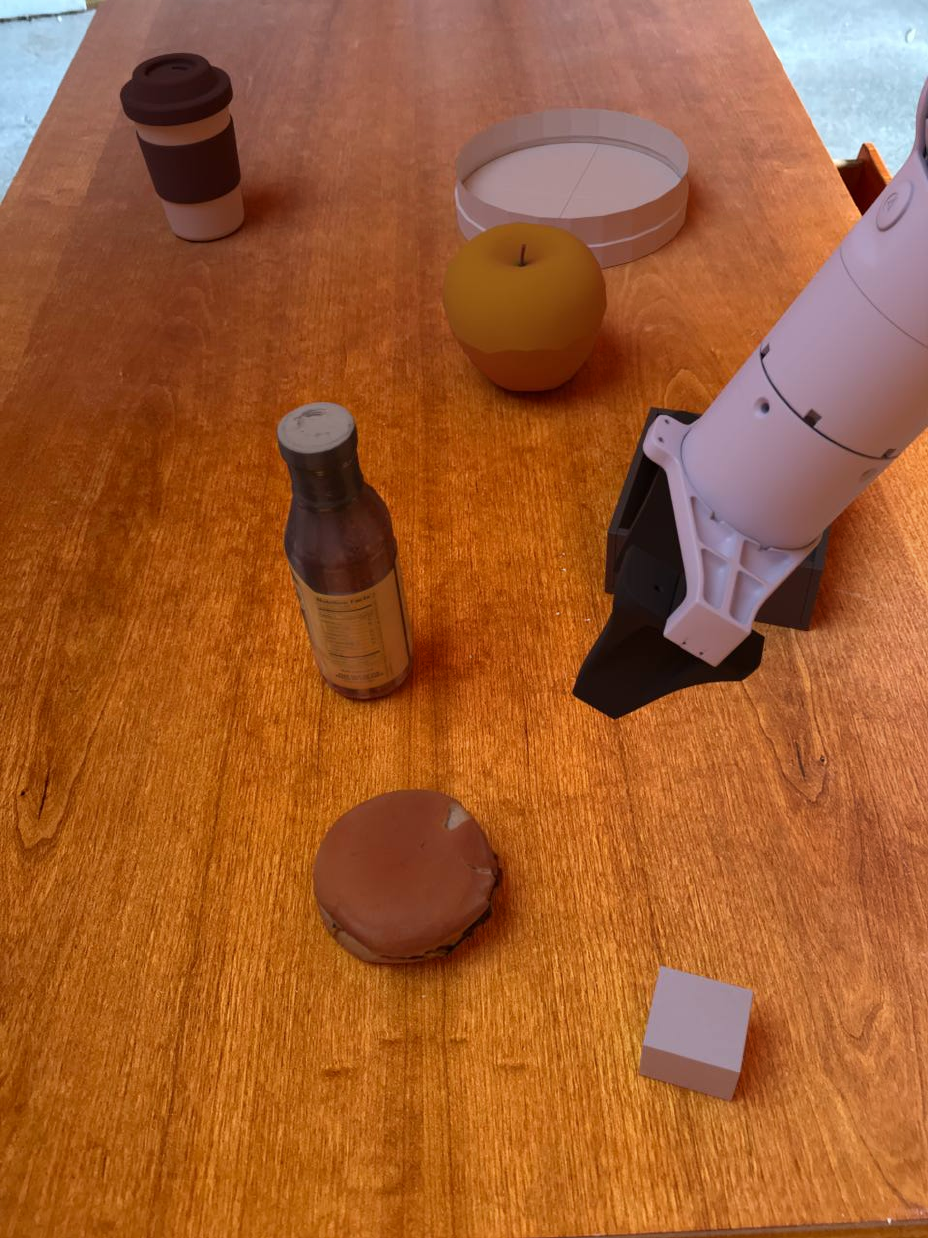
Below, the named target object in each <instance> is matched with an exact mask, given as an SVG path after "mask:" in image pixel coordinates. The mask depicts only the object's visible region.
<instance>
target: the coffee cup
mask: <svg viewBox="0 0 928 1238" xmlns="http://www.w3.org/2000/svg"><path fill="white" fill-rule="evenodd" d="M232 85H233V84H232V80H231V77H230V75H229V74H228V72H226V71H225V70H223V69H222V68H220V67H218V66H215V65H212V64H211V63H210V62H209V60H208V59H207V58H206V57H204V56H202V55H200V54H198V53H197V54H196V53H191V52H171V53H165V54H161V55H157V56H154V57H150V58H148V59H145V60H144V61H142V62H140V63H139V64H138V65H137V66H136V67H135V68H134V69H133V71H132V74H131V79H129V80H128V81H127V82H125V83H124V85H123V86H122V87H121V88H120V91H119V100H120V103H121V107H122V111H123V113H124V114H125V116H126V117H127V118H128V119H129V120H131V121H133V122H134V126H135V128H136V130H135V136H136V139H137V141H138V145H139V148H140V150H141V154H142V156H143V160H144V162H145V164H146V169H147V170H148V173H149V176H150V179H151V182H152V185H153V187H154V191H155V193H156V195H157V196H159V199H160V202H161V204H162V207H163V210H164V213H165V215H166V217H167V222H168V224H169V227H170V229H171V231H172V232H173V234H174V235H175V236H177V237H179V238H181V239H183V240H187V241H192V242H208V241H214V240H218V239H221V238H224V237H226V236H228V235H231V234H233V233H234V232H235V231H237V230H238V229H239V228H240V227H241V226H242V224H243V222H244V219H245V210H244V204H243V203H244V201H243V198H242V197H243V195H242V189H241V179H242V175H241V174H242V172H241V167H240V166H241V165H240V159H239V153H238V152H239V151H238V145H237V139H236V138H237V137H236V131H235V123H234V119H233V115H232V114H231V113H230V107H229V105H230V103H231V102H232V100H233V98H234V91H233V87H232Z"/></svg>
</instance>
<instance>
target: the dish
mask: <svg viewBox="0 0 928 1238" xmlns="http://www.w3.org/2000/svg"><path fill="white" fill-rule="evenodd" d="M689 162H690V155H689V151H688V149H687V148H686V146H685V143H684V142H683V140H681V139H680V138H679V137H678V136H677V135H676V134H675V133H674V132H673V131H672V130H671V129H669V128H667V127H665V126H664V125H661V124H660V123H658V122H655V121H653V120H651V119H648V118H646V117H641V116H638V115H636V114H632V113H630V112H629V113H628V112H624V111H617V110H610V109H605V108H604V109H603V108H584V107H583V108H582V107H580V108H579V107H567V108H556V109H544V110H539V111H534V112H530V113H525V114H519V115H516V116H513V117H510V118H507V119H505V120H502V121H499V122H496V123H493V124H492V125H490V126H487V127H486V128H484V129H483V130H481V131H479V132H477V133H475V134H473V136H472V137H471V138H469V140H467V142H466V143H464V144H463V145H462V147H461V148H460V149H459V152H458V153H457V156H456V160H455V161H454V167H455V178H456V179H455V181H456V186H455V188H454V199H455V210H456V219H457V220H456V221H457V228H458V229H459V231H460V232H461V233H462V235H463V237H464V238H465V240H466V241H467V242H468V241H470V240H471V239H473V238H474V237H475V236H477V235H478V234H480V233H482V232H484V231H486V230H488V229H490V228H492V227H494V226H498V225H504V224H510V223H516V222H522V223H530V224H538V225H547V226H553V227H556V228H559V229H563V230H566V231H569V232H570V233H571V234H573V235H574V236H576V237H577V238H579V239H580V240H581V241H582V242H584V243H585V244H586V245H587V246H588V247H589V248H590V249H591V251H592V252H593V254H594V256H595V257H596V259H597V261H598V262H599V264H600V267H601V270H602V269H607V268H610V267H614V266H619V265H623V264H627V263H631V262H633V261H636V260H638V259H641V258H643V257H645V256H647V255H650V254H652V253H654V252H657V251H658V250H659V249H660V248H662V247H663V246H664V245H666V244H668V243H669V242H670V241H672V240H673V239H674V238H675V237H676V236H677V234H678V233H679V231H680V230H681V228H682V227H683V226H684V224H685V221H686V215H687V214H686V213H687V204H688V197H689V191H690V185H689V182H688V179H687V178H688V172H689V171H688V170H689V164H690V163H689Z"/></svg>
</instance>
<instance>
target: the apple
mask: <svg viewBox="0 0 928 1238" xmlns="http://www.w3.org/2000/svg"><path fill="white" fill-rule="evenodd" d="M440 291H441V301H442V307H443V310H444V313H445V316H446V319H447V322H448V325H449V328H450V330H451V332H452V334H453V336H454V338H455V340H456V342H457V343H458V345H459V347H460V348H461V349H462V351H463V353H464V354H465V355H466V357H467V358H468V359H469V360H470V362H472V363H473V364H474V365H475V367H476V368H477V369H478V371H480V373H481V374H482V375H484V376H485V377H486V378H488V379H489V380H490V381H491V382H493V383H494V384H496V385H497V386H498V387H502V388H503V389H505V390H508V391H511V392H542V391H549V390H550V391H551V390H556V389H557V388H559V387H560V386H562V385H564V384H565V383H567V382H568V381H570V380H572V378H573V377H574V376H575V375H576V373H577V372H579V370H580V369H581V367H582V366H583V365H584V364H585V362H586V361H587V360H588V359H589V357H590V356H591V353H592V351H593V349H594V347H595V345H596V342H597V340H598V337H599V335H600V331H601V328H602V324H603V320H604V317H605V314H606V311H607V308H608V301H607V284H606V280H605V277H604V273H603V271H602V269H601V267H600V264H599V262H598V261H597V259H596V257H595V256H594V254H593V252H592V251H591V249H590V248H589V247H588V246H587V245H586V244H585V243H584V242H582V241H581V240H580V239H579V238H577V237H576V236H574V235H573V234H571V233H570V232H569V231H566V230H563V229H559V228H556V227H553V226H547V225H538V224H530V223H522V222H516V223H510V224H504V225H498V226H494V227H492V228H490V229H488V230H486V231H484V232H482V233H480V234H478V235H477V236H475V237H474V238H473V239H471V240H470V241H467V242H465V243H463V245H462V246H461V247H460V248H459V249H458V250H457V252H455V254H454V255H453V256H452V258H451V259H450V260H449V262H448V264H447V267H446V270H445V274H444V277H443V283H442V286H441V290H440Z"/></svg>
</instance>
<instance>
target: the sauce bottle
mask: <svg viewBox="0 0 928 1238" xmlns="http://www.w3.org/2000/svg"><path fill="white" fill-rule="evenodd" d="M276 438H277V445H278V449H279V453H280V456H281V458H282V459H283V461H284V462H285V464H286V466H287V470H288V474H289V478H290V482H291V484H290V488H291V494H292V497H291V502H290V506H289V511H288V515H287V519H286V525H285V529H284V534H283V549H284V552H285V556H286V560H287V563H288V567H289V570H290V574H291V579H292V582H293V585H294V589H295V592H296V597H297V599H298V604H299V609H300V612H301V614H302V618H303V621H304V625H305V629H306V634H307V635H308V636H307V637H308V640H309V643H310V647H311V651H312V654H313V659H314V662H315V665H316V668H317V669H318V671H319V672H320V676H321V679H324V681H325V683H327V684H328V686H329V687H330V688H331V689H332V690H334V691H335V692H337V693H339V694H340V695H341V696H344V697H346V698H350V699H354V700H355V699H356V700H368V699H376V698H380V697H385V696H388V695H390V693H392V692H394V691H395V690H396V689H398V688H399V687H400V686H401V685H402V684H403V682H405V680H406V679H407V678H408V676H409V675H410V673H411V672H412V670H413V665H414V655H413V654H414V637H413V631H412V630H413V629H412V624H411V619H410V618H411V617H410V612H409V606H408V600H407V593H406V588H405V582H404V576H403V571H402V564H401V559H400V553H399V547H398V542H397V538H396V536H395V533H394V528H393V520H392V516H391V513H390V511H389V510H390V509H389V508H388V505H387V504H386V502H385V500H383V498H382V497H381V495H380V494H379V493H378V491H377V490H376V489H375V487H374V486H373V485H371V484H368V483H367V482H365V478H364V474H363V471H362V470H361V467H360V466H361V465H360V460H359V452H358V444H359V434H358V428H357V425H356V421H355V418H354V416H353V415H352V413H351V412H350V411H349V410H348V409H347V408H346V407H344V406H342V405H340V404H337V403H333V402H329V401H327V402H326V401H319V402H311V403H307V404H303V405H300V406H299V407H297V408H295V409H294V410H291V411H289V412H287V414H285V415H284V416H283V417H282V418H281V420H280V421H279V423H278V425H277V427H276Z"/></svg>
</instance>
